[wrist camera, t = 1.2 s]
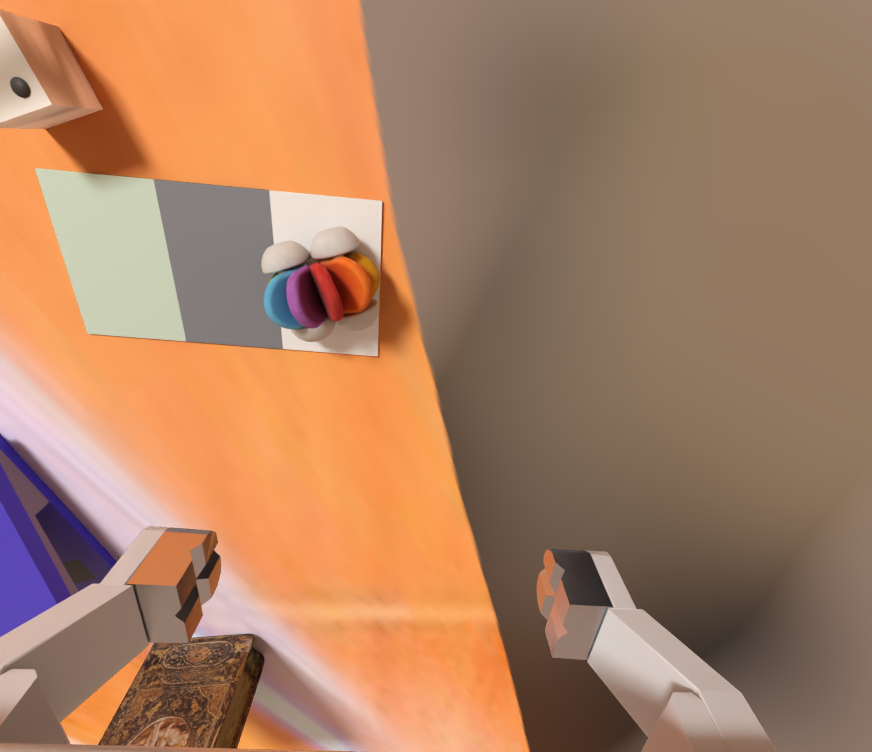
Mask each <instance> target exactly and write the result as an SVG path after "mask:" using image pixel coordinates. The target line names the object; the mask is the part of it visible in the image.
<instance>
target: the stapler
mask: <svg viewBox="0 0 872 752" xmlns="http://www.w3.org/2000/svg"><path fill="white" fill-rule="evenodd" d="M116 563H117V562H116V560H115V559H114V558H113V557H112V556H111V555H110V554H109V553H108V552H107V551H106V550H105V548H104V547H103V546H102V545H101V544H100V543H99V542H98V541H97V540H96V539H95V538H94V536H93V535H92V534H91V533H90V532H89V531H88V530H87V529H86V528H85V527H84V526H83V524H82V523H81V522H80V521H79V520H78V519H77V518H76V517H75V516H74V515H73V514H72V512H71V511H70V510H69V509H68V508H67V507H66V506H65V505H64V504H63V503H62V502H61V500H60V499H59V498H58V497H57V496H56V495H55V494H54V493H53V492H52V491H51V490H50V488H49V487H48V486H47V485H46V484H45V483H44V482H43V481H42V480H41V479H40V478H39V476H38V475H37V474H36V473H35V472H34V471H33V470H32V469H31V468H30V467H29V466H28V464H27V463H26V462H25V461H24V460H23V459H22V458H21V457H20V456H19V455H18V454H17V453H16V451H15V450H14V449H13V448H12V447H11V446H10V445H9V444H8V443H7V442H6V441H5V439H4V438H3V437H2V436H1V435H0V637H2V636H3V635H5V634H7V633H8V632H10V631H12V630H14V629H15V628H17V627H19V626H20V625H22V624H24V623H26V622H27V621H29V620H31V619H33V618H34V617H36V616H38V615H39V614H41V613H43V612H45V611H46V610H48V609H50V608H51V607H53V606H55V605H57V604H58V603H60V602H62V601H64V600H65V599H67V598H69V597H70V596H72V595H74V594H76V593H77V592H79V591H81V590H82V589H84V588H86V587H88V586H89V585H91V584H100V583H101V581H102V580H103V579H104V578H105V576H106V575H107V574H108V573H109V571H110V570H111V569H112V568H113V566H114V565H115V564H116Z"/></svg>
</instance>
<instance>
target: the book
mask: <svg viewBox="0 0 872 752" xmlns="http://www.w3.org/2000/svg"><path fill="white" fill-rule="evenodd" d="M253 641H254V639H253V636H252V635H250V634H246V635H224V636H212V637H199V638H191V639H190V641H189V643H154V645H153V646H152V648H151V650H150V652H149V654H148V655H147V657H146V659H145V661H144V663H143V664H142V666H141V668H140V670H139V672H138V673H137V675H136V677H135V679H134V681H133V682H132V684H131V686H130V688H129V690H128V692H127V693H126V695H125V697H124V699H123V701H122V702H121V704H120V706H119V708H118V710H117V711H116V713H115V715H114V717H113V719H112V720H111V722H110V724H109V726H108V728H107V730H106V731H105V733H104V735H103V737H102V739H101V740H100V742H99V744H98V745H112V746H152V747H191V748H231V749H237V746H238V743H239V740H240V737H241V734H242V731H243V728H244V725H245V722H246V719H247V716H248V713H249V710H250V707H251V704H252V700H253V697H254V694H255V691H256V688H257V685H258V682H259V679H260V676H261V673H262V670H263V665H264V656H263V655H262V654H260V653H258V652H256V651H255V650H254V649H253V648H252V645H253Z"/></svg>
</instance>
